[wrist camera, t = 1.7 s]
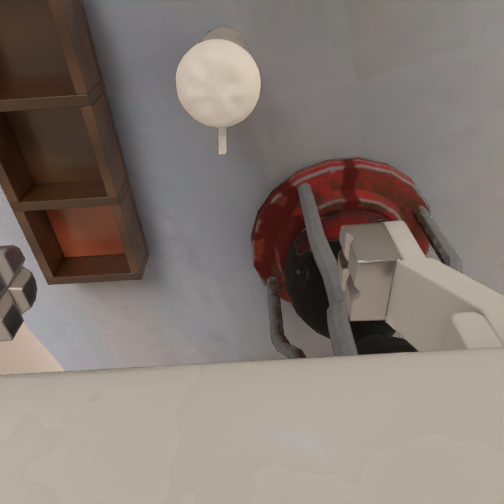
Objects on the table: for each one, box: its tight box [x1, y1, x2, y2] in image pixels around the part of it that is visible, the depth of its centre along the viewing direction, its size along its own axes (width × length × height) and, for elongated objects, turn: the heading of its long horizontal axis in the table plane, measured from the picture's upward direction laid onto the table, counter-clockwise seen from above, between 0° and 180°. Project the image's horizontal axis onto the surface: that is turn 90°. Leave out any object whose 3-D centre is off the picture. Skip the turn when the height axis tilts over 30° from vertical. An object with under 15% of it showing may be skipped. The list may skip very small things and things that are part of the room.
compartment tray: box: [0, 0, 149, 285], centre depth 31 cm, size 24×8×4 cm, turn 3°
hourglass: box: [251, 157, 462, 359], centre depth 29 cm, size 16×16×25 cm
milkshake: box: [176, 26, 261, 155], centre depth 25 cm, size 4×5×10 cm
